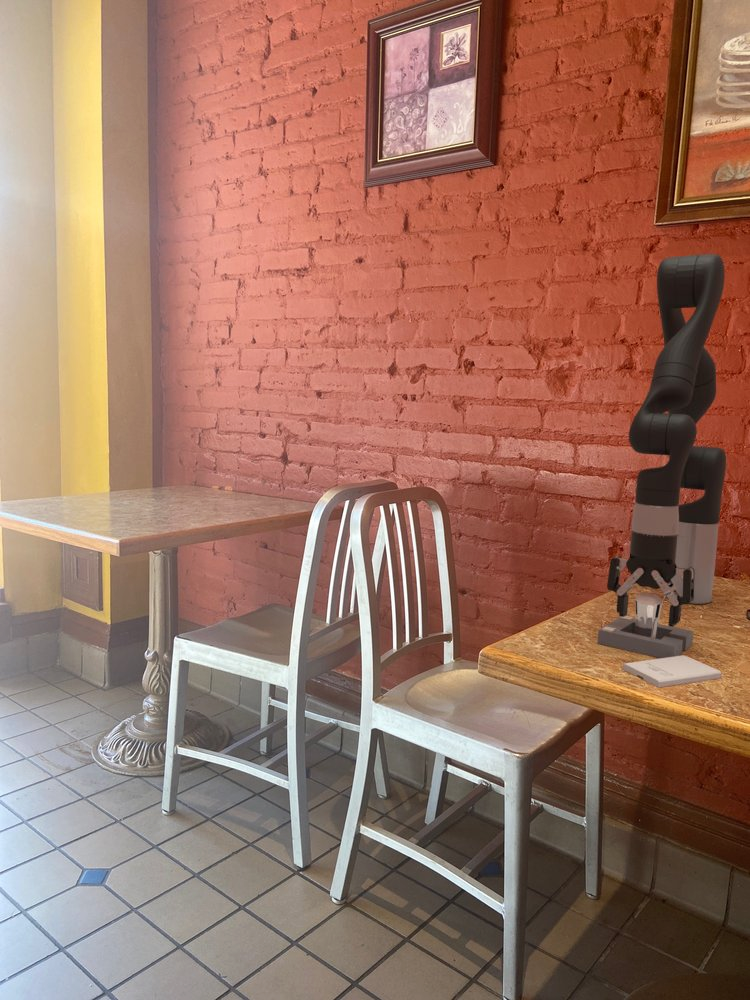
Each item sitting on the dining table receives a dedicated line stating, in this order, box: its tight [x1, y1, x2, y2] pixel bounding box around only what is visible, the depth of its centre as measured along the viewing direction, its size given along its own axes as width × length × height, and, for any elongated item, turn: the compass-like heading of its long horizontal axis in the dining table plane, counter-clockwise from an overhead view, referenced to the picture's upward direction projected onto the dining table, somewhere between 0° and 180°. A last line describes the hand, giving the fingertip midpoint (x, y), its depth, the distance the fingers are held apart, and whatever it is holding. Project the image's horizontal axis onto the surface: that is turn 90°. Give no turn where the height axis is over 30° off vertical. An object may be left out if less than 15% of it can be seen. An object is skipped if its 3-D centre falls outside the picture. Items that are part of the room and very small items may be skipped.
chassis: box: [597, 615, 695, 659], centre depth 132 cm, size 11×13×3 cm
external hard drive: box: [621, 654, 723, 689], centre depth 118 cm, size 2×8×12 cm
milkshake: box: [634, 592, 667, 639], centre depth 131 cm, size 4×5×10 cm
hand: (647, 620), depth 131 cm, fingers open, 8 cm apart
